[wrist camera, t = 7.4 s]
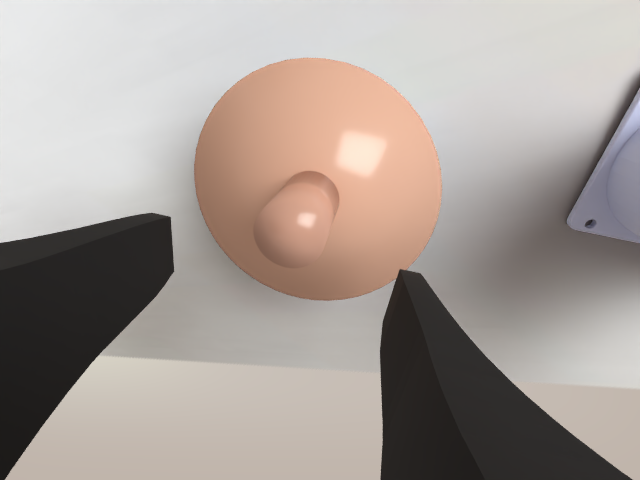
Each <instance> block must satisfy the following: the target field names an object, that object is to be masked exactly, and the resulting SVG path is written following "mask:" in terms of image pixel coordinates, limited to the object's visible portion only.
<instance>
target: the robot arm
mask: <svg viewBox="0 0 640 480" xmlns="http://www.w3.org/2000/svg"><path fill="white" fill-rule="evenodd" d="M588 220H593V221H592V223H591V224H590V225H587V226H585V223H586V222H587V221H588ZM567 224H568V225H569V226H570V227H571V228H572V229H574V230H577V231H582V232H587V233H592V234H597V235H602V236H606V237H611V238H616V239H621V240H626V241H631V242H635V243H640V88H639V90H638V92H637V94H636V96H635V97H634V99H633V101H632V103H631V105H630V106H629V108H628V110H627V112H626V114H625V115H624V117H623V119H622V121H621V123H620V124H619V126H618V128H617V130H616V132H615V133H614V135H613V137H612V139H611V141H610V142H609V144H608V146H607V148H606V150H605V151H604V153H603V155H602V157H601V159H600V160H599V162H598V164H597V166H596V168H595V169H594V171H593V173H592V175H591V177H590V178H589V180H588V182H587V184H586V186H585V187H584V189H583V191H582V193H581V195H580V196H579V198H578V200H577V202H576V204H575V205H574V207H573V209H572V211H571V213H570V214H569V216H568V218H567ZM173 272H174V263H173V247H172V232H171V217H168V216H164V215H159V214H155V213H147V214H140V215H134V216H129V217H125V218H120V219H116V220H111V221H107V222H103V223H98V224H94V225H90V226H85V227H81V228H77V229H72V230H67V231H62V232H57V233H52V234H48V235H43V236H38V237H33V238H28V239H22V240H16V241H10V242H4V243H0V480H5V478H6V477H7V475H8V474H9V472H10V471H11V469H12V468H13V466H14V465H15V464H16V462H17V461H18V459H19V458H20V457H21V455H22V454H23V452H24V451H25V450H26V448H27V447H28V445H29V444H30V442H31V441H32V439H33V438H34V437H35V435H36V434H37V433H38V431H39V430H40V428H41V427H42V426H43V424H44V423H45V421H46V420H47V419H48V418H49V416H50V415H51V414H52V412H53V411H54V410H55V408H56V407H57V406H58V404H59V403H60V402H61V400H62V399H63V398H64V397H65V395H66V394H67V392H68V391H69V390H70V389H71V388H72V386H73V385H74V384H75V383H76V382H77V380H78V379H79V378H80V376H81V375H82V374H83V373H84V372H85V370H86V369H87V368H88V367H89V365H90V364H91V363H92V362H93V361H94V360H95V358H96V357H97V356H98V355H99V354H100V353H101V352H102V351H103V350H104V349H105V348H106V347H107V346H108V345H109V344H110V343H111V342H112V341H113V340H114V339H115V338H116V337H117V336H118V335H119V334H120V333H121V332H122V331H123V330H124V329H125V328H126V327H127V326H128V325H129V324H130V323H131V321H132V320H133V319H134V318H135V317H136V316H137V315H138V314H139V313H140V312H141V311H142V310H143V309H144V308H145V307H146V306H147V305H148V304H149V303H150V302H151V301H152V300H153V299H154V298H155V297H156V296H157V294H158V293H159V292H160V290H161V289H162V288H163V286H164V285H165V284H166V282H167V281H168V279H169V278H170V276H171V275H172V274H173ZM380 364H381V390H382V417H383V446H382V463H381V480H632V479H631V478H630V477H628V476H627V475H625V474H624V473H622V472H621V471H619V470H618V469H617V468H615V467H614V466H613V465H612V464H610V463H609V462H608V461H606V460H605V459H604V458H602V457H601V456H600V455H598V454H597V453H596V452H594V451H593V450H592V449H590V448H589V447H588V446H587V445H585V444H584V443H583V442H581V441H580V440H579V439H577V438H576V437H575V436H574V435H572V434H571V433H570V432H569V431H567V430H566V429H565V428H564V427H563V426H561V425H560V424H559V423H558V422H556V421H555V420H554V419H553V418H552V417H550V416H549V415H548V414H547V413H546V412H545V411H543V410H542V409H541V408H540V407H539V406H538V405H537V404H535V403H534V402H533V401H532V400H531V399H530V398H528V397H527V396H526V395H525V394H524V393H523V392H522V391H521V390H520V389H519V388H517V387H516V386H515V385H514V384H513V383H512V382H511V381H510V380H509V379H508V378H507V377H506V376H505V375H504V374H503V373H502V372H501V371H500V370H499V369H498V368H497V367H496V366H495V365H494V364H493V363H492V362H491V361H490V360H489V359H488V358H487V357H486V356H485V355H484V354H483V353H482V352H481V351H480V349H479V348H478V347H477V346H476V345H475V344H474V343H473V341H472V340H471V339H470V338H469V337H468V336H467V334H466V333H465V332H464V331H463V330H462V329H461V327H460V326H459V325H458V324H457V322H456V321H455V320H454V319H453V317H452V316H451V315H450V313H449V312H448V311H447V309H446V308H445V307H444V305H443V304H442V303H441V301H440V300H439V298H438V297H437V296H436V294H435V293H434V291H433V290H432V289H431V287H430V286H429V284H428V283H427V282H426V280H425V279H424V277H423V276H422V275H421V274H420V273H416V272H411V271H407V270H403V269H399V273H398V276H397V279H396V282H395V285H394V288H393V291H392V295H391V298H390V301H389V304H388V307H387V310H386V313H385V316H384V320H383V325H382V335H381V347H380Z"/></svg>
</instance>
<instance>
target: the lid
mask: <svg viewBox="0 0 640 480" xmlns="http://www.w3.org/2000/svg"><path fill="white" fill-rule="evenodd" d="M194 177H195V187H196V194H197V198H198V202H199V206H200V210H201V212H202V215H203V217H204V220H205V222H206V224H207V226H208V228H209V230H210V232H211V234H212V236H213V237H214V239H215V240H216V242H217V243H218V245H219V246H220V247H221V249H222V250H223V251H224V252H225V253H226V255H227V256H228V257H229V258H230V259H231V260H232V261H233V262H234V263H235V264H236V265H237V266H238V267H239V268H240V269H242V270H243V271H244V272H246V273H247V274H248V275H250V276H251V277H252V278H254V279H256V280H257V281H259V282H260V283H262V284H264V285H266V286H268V287H270V288H272V289H274V290H277V291H279V292H282V293H285V294H287V295H291V296H295V297H299V298H304V299H311V300H328V301H329V300H342V299H348V298H353V297H357V296H361V295H364V294H367V293H370V292H372V291H374V290H377V289H379V288H381V287H383V286H385V285H386V284H388V283H390V282H391V281H393V280H394V279H396V278H397V276H398V273H399V269H403V270H407V269H408V268H409V266H410V265H411V264H412V263H413V262H414V261H415V260H416V259H417V258H418V256H419V255H420V254H421V252H422V251H423V249H424V248H425V246H426V244H427V243H428V241H429V239H430V237H431V235H432V233H433V230H434V227H435V225H436V222H437V219H438V214H439V210H440V205H441V194H442V180H441V169H440V164H439V160H438V155H437V151H436V149H435V146H434V143H433V141H432V138H431V135H430V134H429V132H428V130H427V128H426V126H425V125H424V123H423V121H422V119H421V118H420V116H419V115H418V113H417V112H416V111H415V110H414V108H413V107H412V106H411V104H410V103H409V102H408V101H407V100H406V99H405V98H404V97H403V96H402V95H401V94H400V93H399V92H398V91H397V90H396V89H395V88H394V87H392V86H391V85H390V84H388V83H387V82H386V81H384V80H383V79H382V78H380V77H378V76H376V75H374V74H373V73H371V72H369V71H367V70H365V69H363V68H360V67H357V66H354V65H351V64H349V63H345V62H340V61H335V60H330V59H323V58H299V59H290V60H285V61H281V62H277V63H274V64H270V65H267V66H265V67H263V68H261V69H258V70H256V71H254V72H252V73H250V74H249V75H247V76H246V77H244V78H243V79H241V80H240V81H238V82H237V83H236V84H235V85H234V86H232V87H231V88H230V89H229V90H228V91H227V92H226V93H225V94H224V95H223V96H222V97H221V99H220V100H219V101H218V102H217V104H216V105H215V106H214V108H213V109H212V111H211V113H210V114H209V116H208V118H207V119H206V122H205V124H204V126H203V129H202V131H201V134H200V137H199V141H198V145H197V148H196V156H195V164H194Z"/></svg>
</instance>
